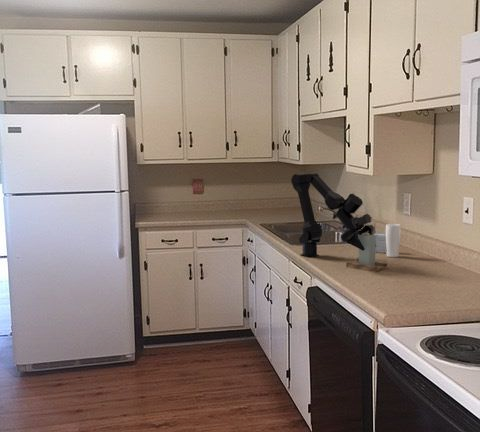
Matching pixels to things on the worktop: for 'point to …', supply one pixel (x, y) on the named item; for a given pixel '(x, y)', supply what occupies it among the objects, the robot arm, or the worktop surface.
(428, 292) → the worktop surface
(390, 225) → the white cylinder
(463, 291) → the worktop surface
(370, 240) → the block
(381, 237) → the medicine box
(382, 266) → the walnut trough
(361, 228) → the robot arm
